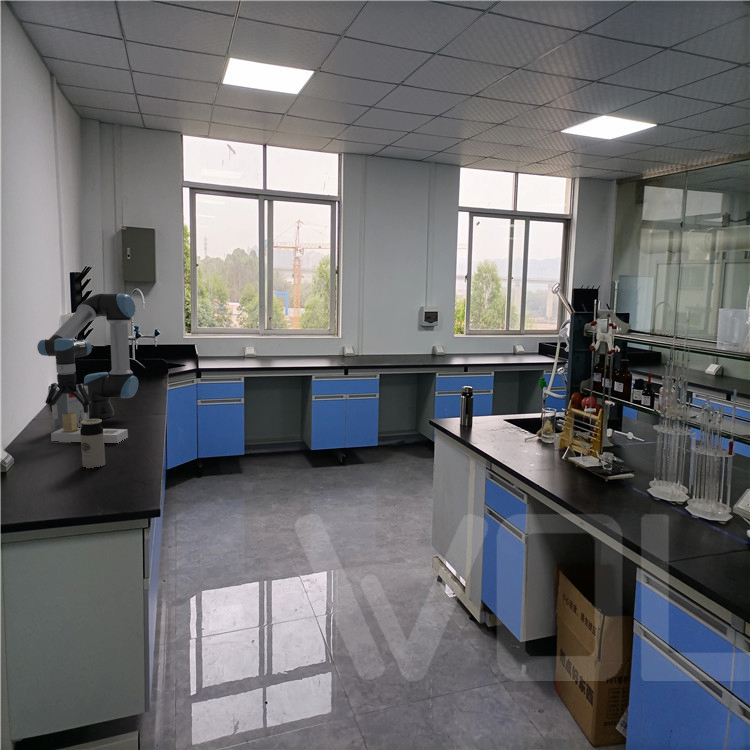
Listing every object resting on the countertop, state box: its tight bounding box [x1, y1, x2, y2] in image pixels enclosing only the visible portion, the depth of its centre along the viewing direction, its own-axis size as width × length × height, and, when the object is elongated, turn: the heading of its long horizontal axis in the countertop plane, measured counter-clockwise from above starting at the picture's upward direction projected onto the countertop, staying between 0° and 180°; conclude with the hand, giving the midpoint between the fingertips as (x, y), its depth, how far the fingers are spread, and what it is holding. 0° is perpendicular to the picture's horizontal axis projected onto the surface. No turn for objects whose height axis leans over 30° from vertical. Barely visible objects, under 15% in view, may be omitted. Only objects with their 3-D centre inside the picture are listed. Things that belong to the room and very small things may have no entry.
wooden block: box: [62, 413, 77, 433], centre depth 258 cm, size 4×4×12 cm
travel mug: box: [80, 419, 106, 469], centre depth 221 cm, size 8×8×18 cm
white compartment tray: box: [50, 427, 129, 444], centre depth 258 cm, size 10×30×4 cm, turn 87°
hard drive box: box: [52, 386, 89, 432], centre depth 277 cm, size 16×8×20 cm, turn 168°
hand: (70, 419), depth 257 cm, fingers open, 13 cm apart
